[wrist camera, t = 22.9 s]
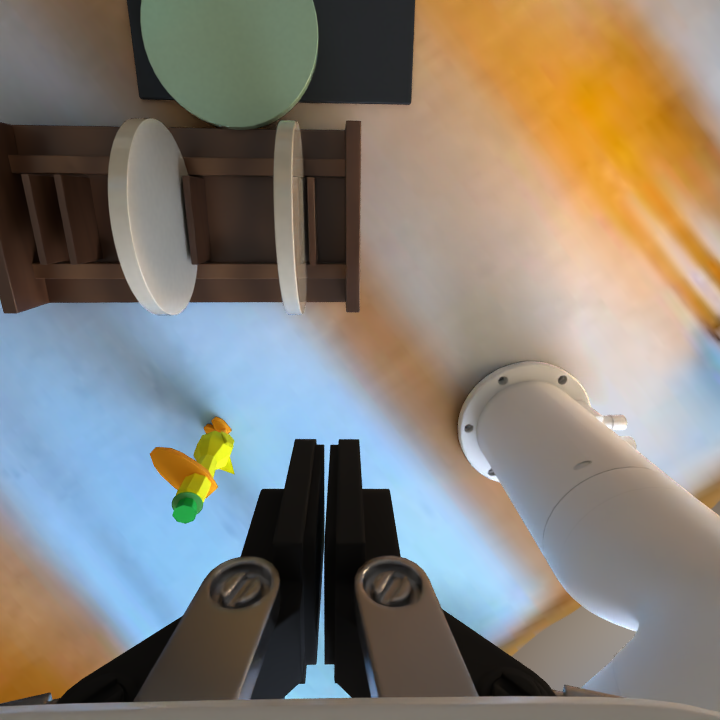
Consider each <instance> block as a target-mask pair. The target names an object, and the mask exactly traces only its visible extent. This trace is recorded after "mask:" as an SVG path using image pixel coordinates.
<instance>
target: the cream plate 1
mask: <svg viewBox="0 0 720 720" xmlns="http://www.w3.org/2000/svg"><path fill="white" fill-rule="evenodd" d="M182 176H188V172H187V169H186V166H185V163H184V160H183V157H182V155H181V152H180V150H179V147H178V145H177V143H176V141H175V139H174V138H173V136H172V134H171V133H170V132H169V130H168V129H167V128H166V126H165V125H164V124H163V123H161V122H160V121H158V120H157V119H153V118H131V119H129V120H127V121H125V122H124V123H123V124H122V125H121V127H120V128H119V130H118V132H117V133H116V136H115V139H114V141H113V145H112V149H111V153H110V160H109V169H108V203H109V214H110V222H111V228H112V234H113V239H114V243H115V247H116V251H117V255H118V258H119V262H120V265H121V268H122V271H123V273H124V275H125V278H126V280H127V283H128V285H129V287H130V289H131V291H132V292H133V294H134V296H135V297H136V299H137V300H138V301H139V303H140V304H141V305H142V306H143V307H144V308H145V309H146V310H147V311H149V312H150V313H152V314H155V315H177V314H180V313H181V312H182V311H183V310H184V309H185V308H186V307H187V305H188V303H189V301H190V299H191V296H192V293H193V290H194V286H195V281H196V274H197V265H192V264H191V254H190V245H189V236H188V227H187V218H186V209H185V200H184V190H183V181H182Z"/></svg>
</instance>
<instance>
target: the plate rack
mask: <svg viewBox="0 0 720 720" xmlns="http://www.w3.org/2000/svg"><path fill="white" fill-rule="evenodd" d="M119 128H120V127H109V126H48V125H10V124H6V123H2V122H0V300H1V304H2V308H3V312H4V313H20V312H23V311H26V310H29V309H32V308H35V307H38V306H41V305H44V304H47V303H98V302H139V301H138V300H137V299H136V297H135V296H134V294H133V292H132V291H131V289H130V287H129V285H128V283H127V280H126V278H125V275H124V273H123V271H122V268H121V265H120V262H119V258H118V255H117V251H116V247H115V243H114V239H113V234H112V228H111V222H110V214H109V203H108V169H109V160H110V153H111V149H112V145H113V141H114V139H115V136H116V133H117V132H118V130H119ZM166 128H167V129H168V130H169V132H170V133H171V134H172V136H173V138H174V139H175V141H176V143H177V145H178V147H179V150H180V152H181V155H182V157H183V160H184V163H185V166H186V169H187V172H188V176H182V181H183V190H184V200H185V209H186V218H187V227H188V236H189V245H190V254H191V264H192V265H197V274H196V281H195V286H194V290H193V293H192V296H191V299H190V301H189V302H283V301H282V296H281V290H280V283H279V276H278V267H277V256H276V243H275V226H274V196H273V172H274V147H275V136H276V130H277V129H248V130H232V129H225V128H170V127H166ZM300 133H301V140H302V148H303V158H304V171H305V186H306V208H307V294H306V302H346V312H360V189H361V121H346V126H345V130H300Z"/></svg>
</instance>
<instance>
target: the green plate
mask: <svg viewBox="0 0 720 720" xmlns="http://www.w3.org/2000/svg"><path fill="white" fill-rule="evenodd" d="M140 23H141V32H142V38H143V43H144V47H145V51H146V53H147V56H148V59H149V62H150V64H151V66H152V68H153V70H154V72H155V74H156V76H157V78H158V79H159V81H160V82H161V84H162V85H163V87H164V88H165V89H166V91H167V92H168V93H169V94H170V95H171V96H172V97H173V98H174V99H175V100H176V101H177V102H178V103H179V104H180V105H181V106H182V107H183V108H185V109H186V110H187V111H188V112H190V113H191V114H192V115H194V116H196V117H197V118H199V119H201V120H202V121H205V122H207V123H209V124H211V125H214V126H217V127H221V128H225V129H232V130H248V129H255V128H259V127H262V126H266V125H268V124H270V123H272V122H275V121H276V120H278V119H279V118H281V117H283V116H284V115H285V114H286V113H288V112H289V111H290V110H291V109H292V108H293V107H294V106H295V105H296V104H297V103H298V101H299V100H300V99H301V97H302V96H303V94H304V93H305V91H306V89H307V87H308V85H309V83H310V81H311V79H312V76H313V73H314V70H315V67H316V62H317V57H318V47H319V32H318V22H317V15H316V10H315V6H314V2H313V0H141V9H140Z"/></svg>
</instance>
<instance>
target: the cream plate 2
mask: <svg viewBox="0 0 720 720" xmlns="http://www.w3.org/2000/svg"><path fill="white" fill-rule="evenodd" d="M273 196H274V226H275V243H276V256H277V267H278V276H279V283H280V290H281V296H282V301H283V305H284V308H285V311H286V313H287V314H288V315H302V314H303V313H304V310H305V305H306V294H307V208H306V186H305V171H304V158H303V148H302V140H301V133H300V128H299V124H298V122H297V121H293V120H281V121H279V123H278V126H277V130H276V136H275V147H274V172H273Z"/></svg>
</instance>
